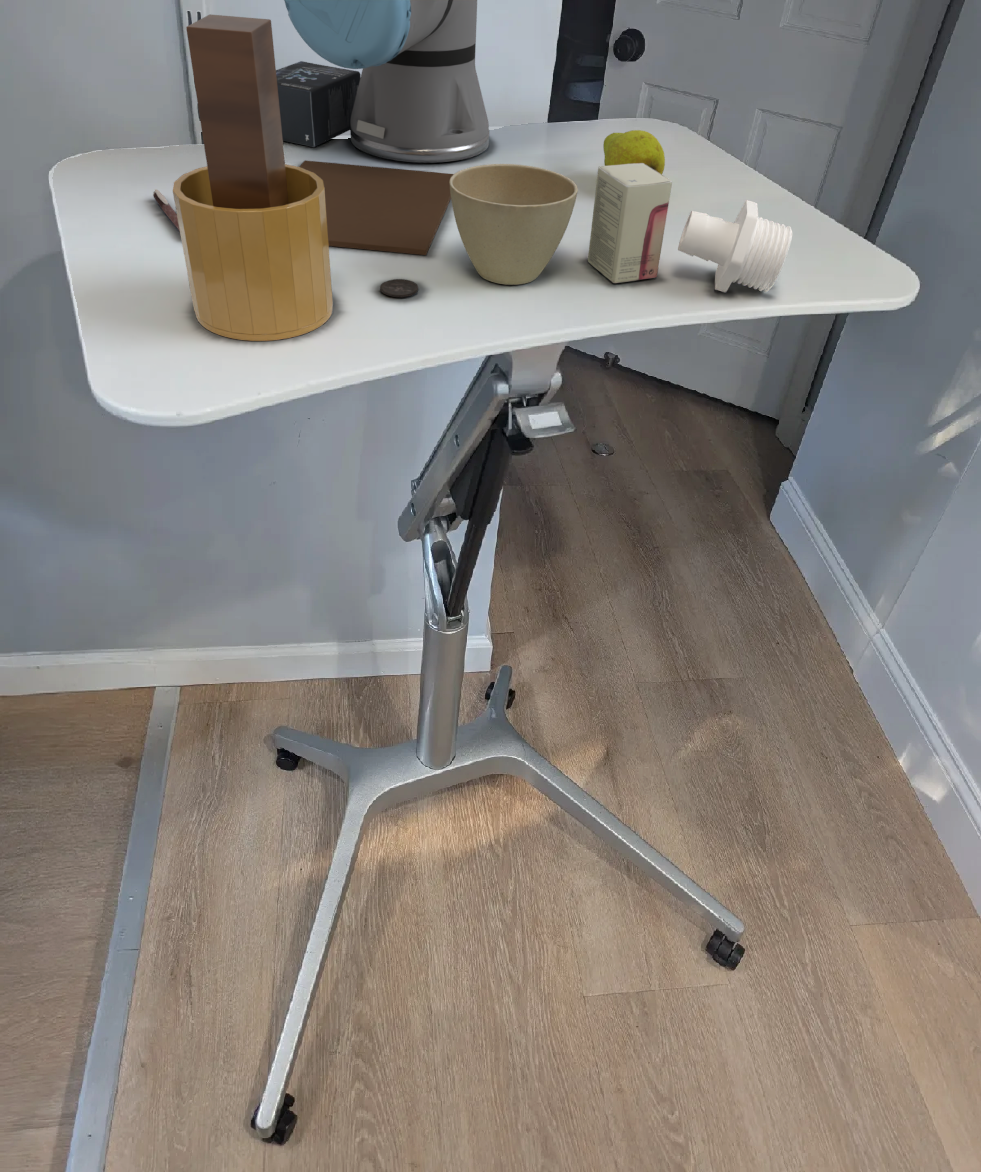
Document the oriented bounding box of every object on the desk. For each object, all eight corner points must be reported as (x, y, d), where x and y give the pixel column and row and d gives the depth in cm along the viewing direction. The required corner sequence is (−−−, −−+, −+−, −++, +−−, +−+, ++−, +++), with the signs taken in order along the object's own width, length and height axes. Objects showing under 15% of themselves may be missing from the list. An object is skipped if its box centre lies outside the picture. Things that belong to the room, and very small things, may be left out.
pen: (151, 198, 83) (149, 186, 82) (160, 197, 83) (157, 185, 82) (185, 242, 75) (182, 230, 75) (194, 240, 76) (192, 228, 75)
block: (246, 289, 68) (208, 14, 56) (297, 295, 68) (271, 19, 56) (229, 312, 65) (185, 26, 53) (282, 318, 65) (251, 32, 53)
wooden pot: (222, 276, 71) (203, 155, 65) (346, 288, 71) (339, 168, 65) (174, 333, 64) (149, 203, 58) (313, 347, 63) (301, 217, 57)
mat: (305, 165, 92) (304, 160, 92) (459, 179, 91) (459, 174, 91) (242, 237, 77) (241, 232, 77) (426, 255, 76) (426, 249, 76)
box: (361, 69, 100) (310, 91, 92) (363, 125, 104) (315, 150, 96) (299, 59, 102) (246, 79, 94) (304, 113, 105) (252, 137, 98)
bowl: (591, 286, 73) (603, 195, 68) (484, 307, 69) (489, 213, 65) (528, 242, 80) (534, 156, 75) (427, 259, 76) (427, 170, 71)
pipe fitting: (672, 252, 77) (760, 280, 77) (668, 284, 72) (763, 314, 72) (700, 177, 73) (794, 207, 73) (698, 205, 68) (799, 237, 68)
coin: (409, 300, 69) (423, 284, 72) (409, 298, 69) (423, 282, 71) (374, 294, 70) (389, 278, 72) (373, 291, 70) (388, 276, 72)
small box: (658, 279, 75) (675, 181, 70) (612, 285, 74) (627, 185, 68) (629, 256, 78) (643, 160, 73) (585, 261, 77) (596, 164, 72)
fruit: (612, 190, 87) (562, 154, 95) (657, 211, 90) (605, 175, 98) (642, 129, 84) (588, 98, 92) (687, 153, 87) (631, 121, 95)
